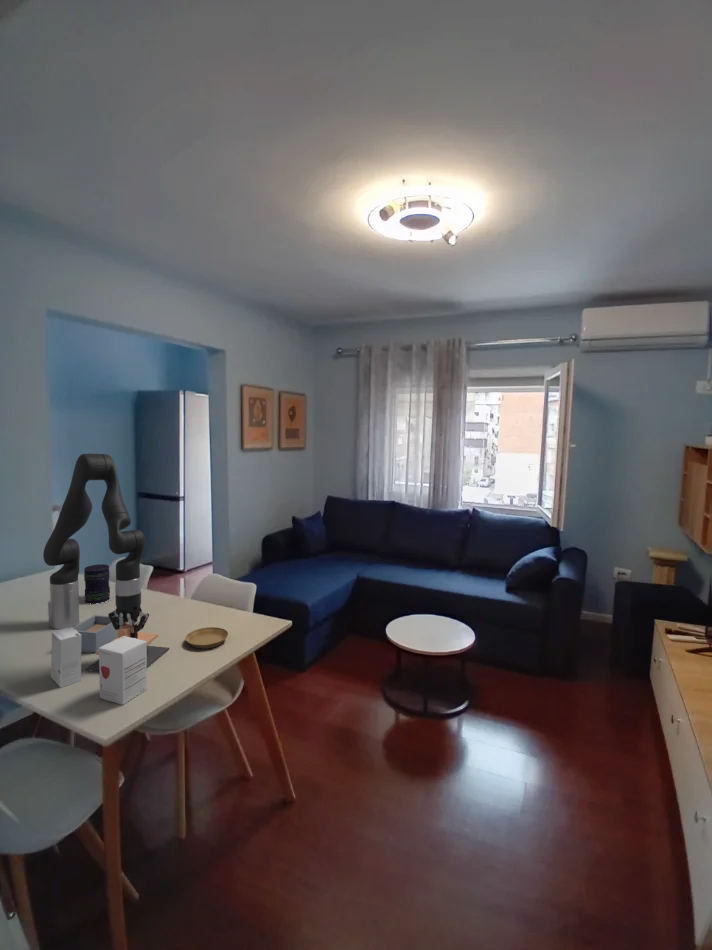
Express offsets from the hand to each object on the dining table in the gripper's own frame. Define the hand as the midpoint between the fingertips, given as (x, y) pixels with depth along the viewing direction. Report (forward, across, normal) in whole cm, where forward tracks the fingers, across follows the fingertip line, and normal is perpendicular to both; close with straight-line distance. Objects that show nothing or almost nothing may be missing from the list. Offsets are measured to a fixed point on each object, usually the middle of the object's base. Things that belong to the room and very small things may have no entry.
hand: (129, 642), depth 152 cm
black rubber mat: (+6, 0, 0) cm, 6 cm away
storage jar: (+6, -47, +47) cm, 67 cm away
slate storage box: (+6, -19, +9) cm, 22 cm away
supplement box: (+6, +11, -19) cm, 23 cm away
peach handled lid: (+2, 0, 0) cm, 2 cm away
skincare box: (+6, -10, -15) cm, 19 cm away
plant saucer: (+6, +19, +17) cm, 26 cm away
